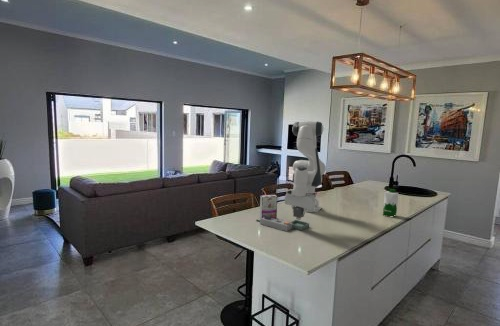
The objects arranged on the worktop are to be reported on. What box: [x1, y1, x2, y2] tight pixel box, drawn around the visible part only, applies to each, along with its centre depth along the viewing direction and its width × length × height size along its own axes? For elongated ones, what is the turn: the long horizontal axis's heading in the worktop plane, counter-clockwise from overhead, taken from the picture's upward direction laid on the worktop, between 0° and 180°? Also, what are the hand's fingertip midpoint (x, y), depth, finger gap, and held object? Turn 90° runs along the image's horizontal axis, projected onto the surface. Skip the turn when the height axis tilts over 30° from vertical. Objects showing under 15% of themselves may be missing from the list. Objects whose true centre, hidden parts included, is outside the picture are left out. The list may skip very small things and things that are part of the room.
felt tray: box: [289, 219, 310, 232], centre depth 188 cm, size 10×10×2 cm
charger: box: [292, 206, 305, 221], centre depth 187 cm, size 5×5×8 cm
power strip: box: [256, 215, 293, 232], centre depth 189 cm, size 26×7×6 cm, turn 52°
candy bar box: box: [259, 194, 278, 220], centre depth 203 cm, size 11×5×16 cm, turn 105°
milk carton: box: [382, 188, 399, 217], centre depth 221 cm, size 9×9×20 cm
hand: (298, 213), depth 187 cm, fingers closed on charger, 5 cm apart
